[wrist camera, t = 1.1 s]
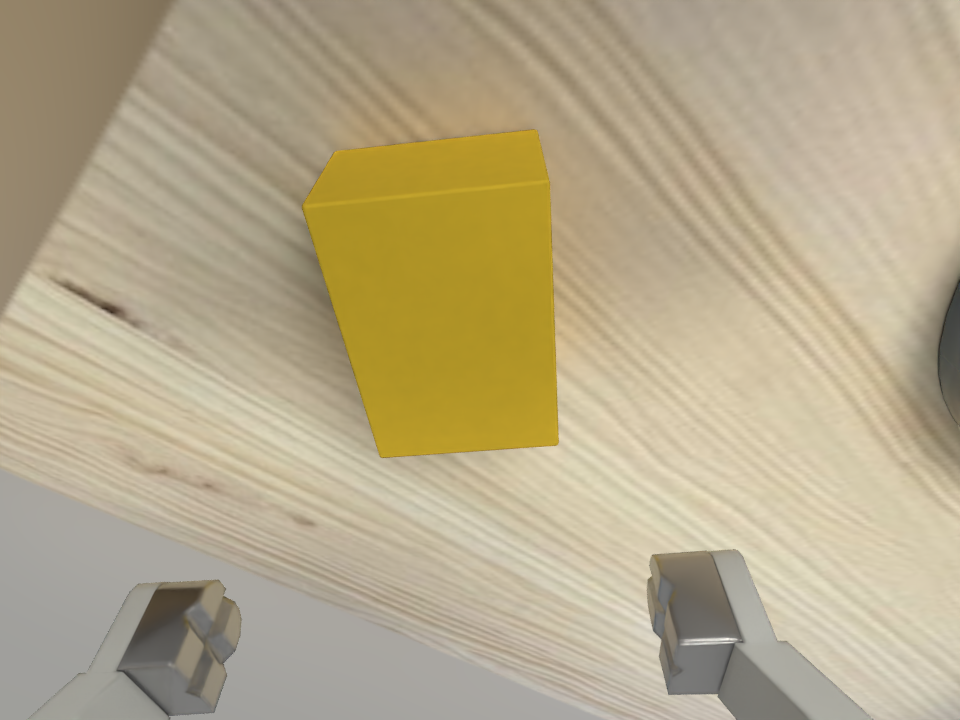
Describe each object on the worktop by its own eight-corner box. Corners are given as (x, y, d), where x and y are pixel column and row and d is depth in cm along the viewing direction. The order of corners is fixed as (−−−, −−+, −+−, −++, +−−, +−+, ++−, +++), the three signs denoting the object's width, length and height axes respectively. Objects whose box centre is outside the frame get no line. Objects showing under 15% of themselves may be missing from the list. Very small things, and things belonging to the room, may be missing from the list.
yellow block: (333, 150, 17) (299, 206, 14) (537, 127, 17) (550, 180, 14) (394, 382, 23) (379, 459, 19) (548, 369, 22) (559, 446, 19)
